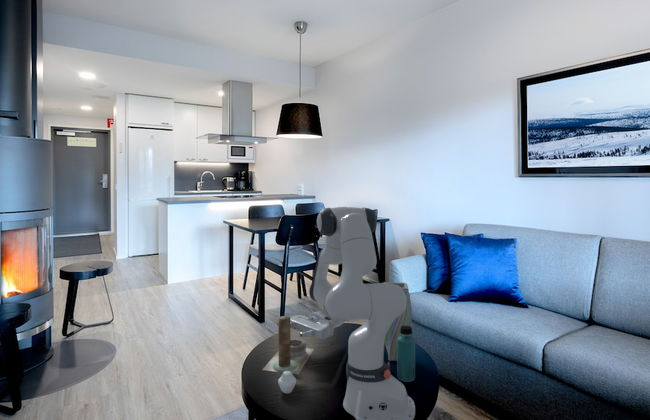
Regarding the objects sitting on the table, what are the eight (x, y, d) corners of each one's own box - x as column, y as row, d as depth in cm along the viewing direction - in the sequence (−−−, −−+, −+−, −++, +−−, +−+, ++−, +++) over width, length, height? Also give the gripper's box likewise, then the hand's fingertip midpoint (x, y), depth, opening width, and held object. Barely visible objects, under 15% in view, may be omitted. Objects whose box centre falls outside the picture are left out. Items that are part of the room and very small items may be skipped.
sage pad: (299, 361, 146) (299, 360, 146) (292, 372, 138) (292, 371, 138) (277, 359, 149) (277, 358, 148) (269, 370, 140) (269, 368, 140)
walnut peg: (292, 362, 145) (291, 316, 144) (288, 368, 140) (288, 320, 139) (281, 361, 146) (280, 315, 145) (276, 366, 141) (276, 319, 140)
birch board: (314, 352, 158) (314, 339, 158) (298, 378, 137) (298, 363, 136) (282, 349, 161) (282, 336, 161) (262, 373, 140) (262, 359, 140)
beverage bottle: (415, 387, 131) (416, 331, 129) (396, 385, 132) (396, 329, 131) (414, 378, 137) (415, 324, 136) (396, 376, 138) (397, 322, 137)
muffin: (289, 384, 133) (288, 365, 132) (300, 391, 128) (299, 371, 128) (274, 390, 128) (274, 370, 128) (285, 398, 124) (285, 377, 123)
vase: (413, 366, 146) (414, 290, 144) (378, 364, 147) (378, 289, 145) (409, 351, 159) (410, 281, 157) (377, 349, 161) (378, 280, 159)
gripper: (300, 309, 163) (275, 317, 153) (336, 321, 149) (311, 331, 139) (300, 323, 163) (275, 332, 153) (336, 336, 149) (311, 347, 139)
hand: (292, 332), depth 146 cm, fingers open, 8 cm apart
